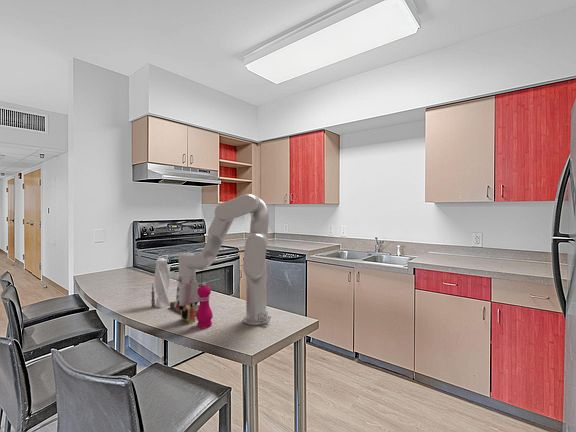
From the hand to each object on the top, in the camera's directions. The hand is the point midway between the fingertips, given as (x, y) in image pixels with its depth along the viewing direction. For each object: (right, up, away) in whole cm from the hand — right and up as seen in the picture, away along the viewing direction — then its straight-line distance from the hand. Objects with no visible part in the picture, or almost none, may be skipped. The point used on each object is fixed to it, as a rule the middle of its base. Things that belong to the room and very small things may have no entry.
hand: (188, 317), depth 146 cm
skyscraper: (-22, -2, +22) cm, 31 cm away
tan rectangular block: (0, -2, 0) cm, 2 cm away
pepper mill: (+9, -2, -6) cm, 11 cm away
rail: (-5, -1, +14) cm, 15 cm away
